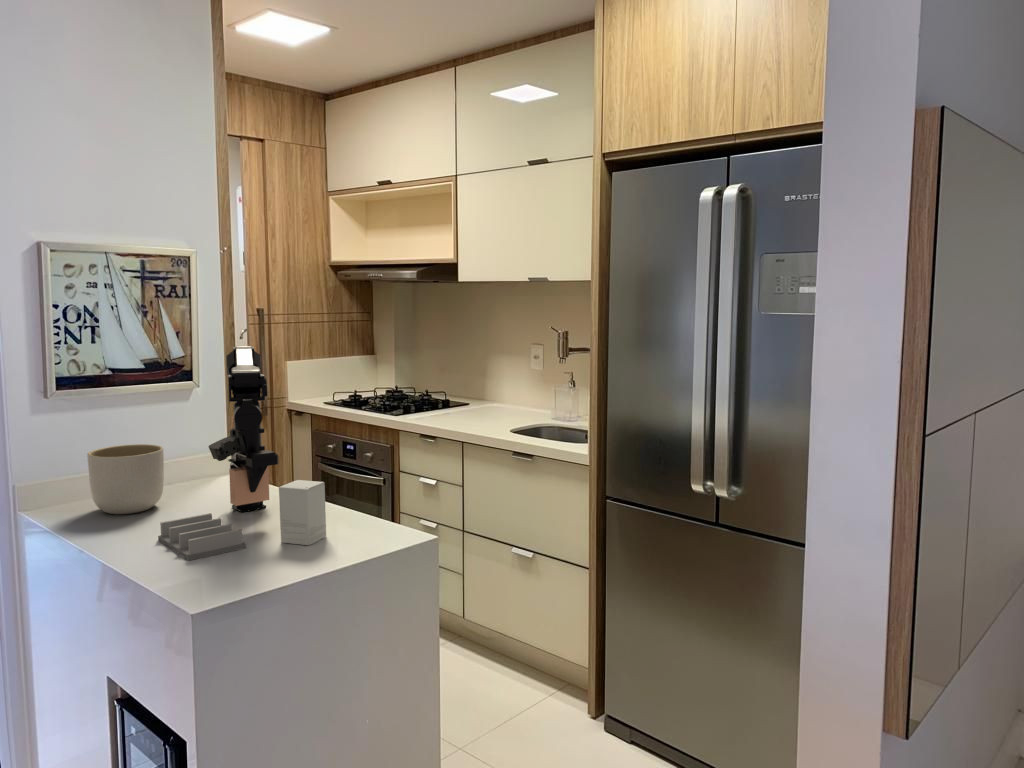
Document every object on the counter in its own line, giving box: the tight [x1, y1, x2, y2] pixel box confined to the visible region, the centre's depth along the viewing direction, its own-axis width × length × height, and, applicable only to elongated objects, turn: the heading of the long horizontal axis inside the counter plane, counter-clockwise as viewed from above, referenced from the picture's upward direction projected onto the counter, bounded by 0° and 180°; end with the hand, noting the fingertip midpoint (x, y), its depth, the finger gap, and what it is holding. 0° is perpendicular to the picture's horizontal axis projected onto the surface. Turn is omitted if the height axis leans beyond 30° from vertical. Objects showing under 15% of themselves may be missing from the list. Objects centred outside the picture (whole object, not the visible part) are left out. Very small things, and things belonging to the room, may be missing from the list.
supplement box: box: [278, 479, 327, 546], centre depth 168 cm, size 7×7×13 cm
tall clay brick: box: [228, 466, 270, 506], centre depth 176 cm, size 8×3×8 cm, turn 133°
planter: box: [87, 443, 165, 515], centre depth 191 cm, size 17×17×15 cm
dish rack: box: [157, 513, 246, 561], centre depth 165 cm, size 12×18×4 cm, turn 43°
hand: (249, 490), depth 176 cm, fingers closed on tall clay brick, 3 cm apart
